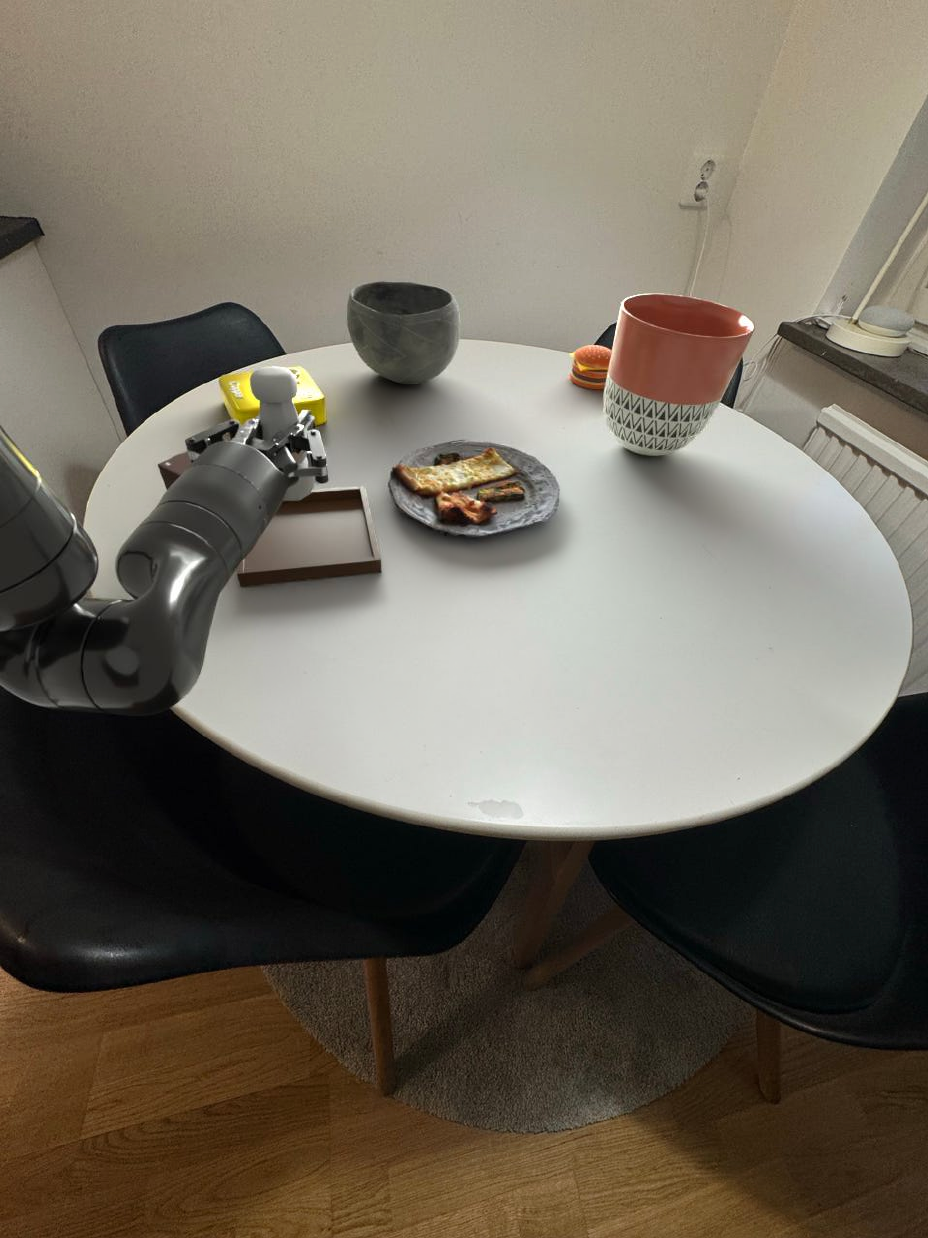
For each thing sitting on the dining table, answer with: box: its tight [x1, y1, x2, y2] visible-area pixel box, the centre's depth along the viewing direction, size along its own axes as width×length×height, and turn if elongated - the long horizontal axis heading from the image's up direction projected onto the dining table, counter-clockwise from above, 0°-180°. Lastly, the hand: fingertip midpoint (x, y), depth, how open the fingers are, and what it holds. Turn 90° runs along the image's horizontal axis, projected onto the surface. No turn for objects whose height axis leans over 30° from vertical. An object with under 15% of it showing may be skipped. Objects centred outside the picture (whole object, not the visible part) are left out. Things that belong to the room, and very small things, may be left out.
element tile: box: [218, 366, 328, 427], centre depth 93 cm, size 15×15×5 cm
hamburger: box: [569, 344, 612, 390], centre depth 113 cm, size 9×10×7 cm
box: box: [157, 450, 192, 491], centre depth 71 cm, size 6×6×7 cm
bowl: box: [346, 280, 461, 385], centre depth 104 cm, size 21×21×15 cm
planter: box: [602, 293, 756, 457], centre depth 88 cm, size 20×20×21 cm
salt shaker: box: [250, 365, 316, 501], centre depth 56 cm, size 6×6×13 cm
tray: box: [236, 485, 382, 588], centre depth 71 cm, size 17×17×2 cm
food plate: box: [387, 439, 561, 539], centre depth 80 cm, size 25×23×4 cm
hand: (291, 416), depth 57 cm, fingers closed on salt shaker, 3 cm apart
